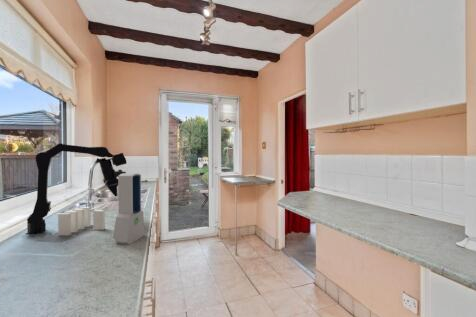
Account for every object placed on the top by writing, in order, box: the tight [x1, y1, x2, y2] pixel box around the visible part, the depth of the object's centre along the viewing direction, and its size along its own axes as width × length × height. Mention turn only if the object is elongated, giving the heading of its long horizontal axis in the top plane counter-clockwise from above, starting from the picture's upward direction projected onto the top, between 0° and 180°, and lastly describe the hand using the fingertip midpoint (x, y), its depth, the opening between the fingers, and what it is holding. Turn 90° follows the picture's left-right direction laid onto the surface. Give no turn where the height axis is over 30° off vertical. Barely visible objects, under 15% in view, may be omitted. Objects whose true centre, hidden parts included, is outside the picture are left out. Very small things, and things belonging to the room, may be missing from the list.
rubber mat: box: [36, 224, 93, 243], centre depth 114 cm, size 12×24×1 cm, turn 175°
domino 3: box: [72, 208, 85, 229], centre depth 120 cm, size 5×2×10 cm, turn 85°
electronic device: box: [112, 172, 146, 245], centre depth 106 cm, size 12×8×30 cm, turn 168°
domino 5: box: [92, 209, 106, 231], centre depth 119 cm, size 5×2×10 cm, turn 85°
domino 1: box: [57, 212, 71, 235], centre depth 111 cm, size 5×2×10 cm, turn 85°
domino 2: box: [65, 210, 78, 232], centre depth 115 cm, size 5×2×10 cm, turn 85°
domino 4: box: [78, 206, 92, 227], centre depth 124 cm, size 5×2×10 cm, turn 85°
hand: (115, 194), depth 134 cm, fingers open, 9 cm apart
